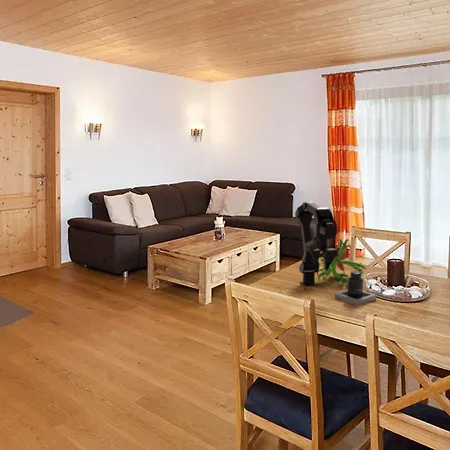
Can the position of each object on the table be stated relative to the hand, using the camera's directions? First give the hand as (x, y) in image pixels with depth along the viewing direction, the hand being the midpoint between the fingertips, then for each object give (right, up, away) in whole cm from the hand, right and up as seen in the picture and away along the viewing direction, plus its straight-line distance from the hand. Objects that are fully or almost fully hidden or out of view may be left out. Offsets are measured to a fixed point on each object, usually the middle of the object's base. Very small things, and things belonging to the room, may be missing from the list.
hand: (321, 267), depth 211 cm
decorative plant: (+14, -10, +23) cm, 28 cm away
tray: (+14, -14, -5) cm, 21 cm away
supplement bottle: (+14, -14, -5) cm, 20 cm away
